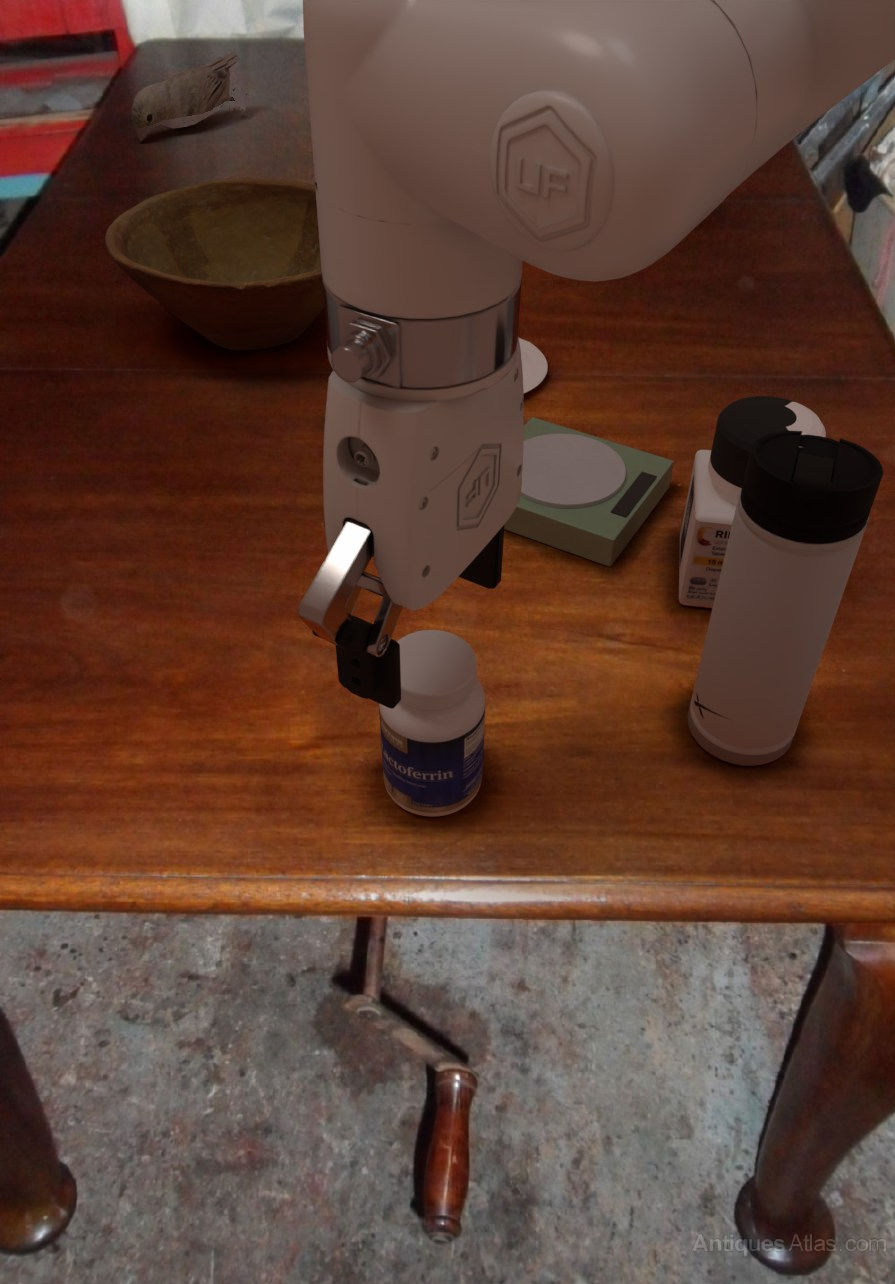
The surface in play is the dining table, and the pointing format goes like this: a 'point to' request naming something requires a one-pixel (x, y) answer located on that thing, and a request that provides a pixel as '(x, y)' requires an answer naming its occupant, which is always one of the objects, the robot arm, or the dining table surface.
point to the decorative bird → (185, 93)
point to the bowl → (228, 258)
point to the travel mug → (779, 591)
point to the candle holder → (532, 365)
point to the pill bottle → (434, 726)
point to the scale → (585, 491)
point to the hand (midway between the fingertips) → (423, 632)
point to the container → (727, 487)
